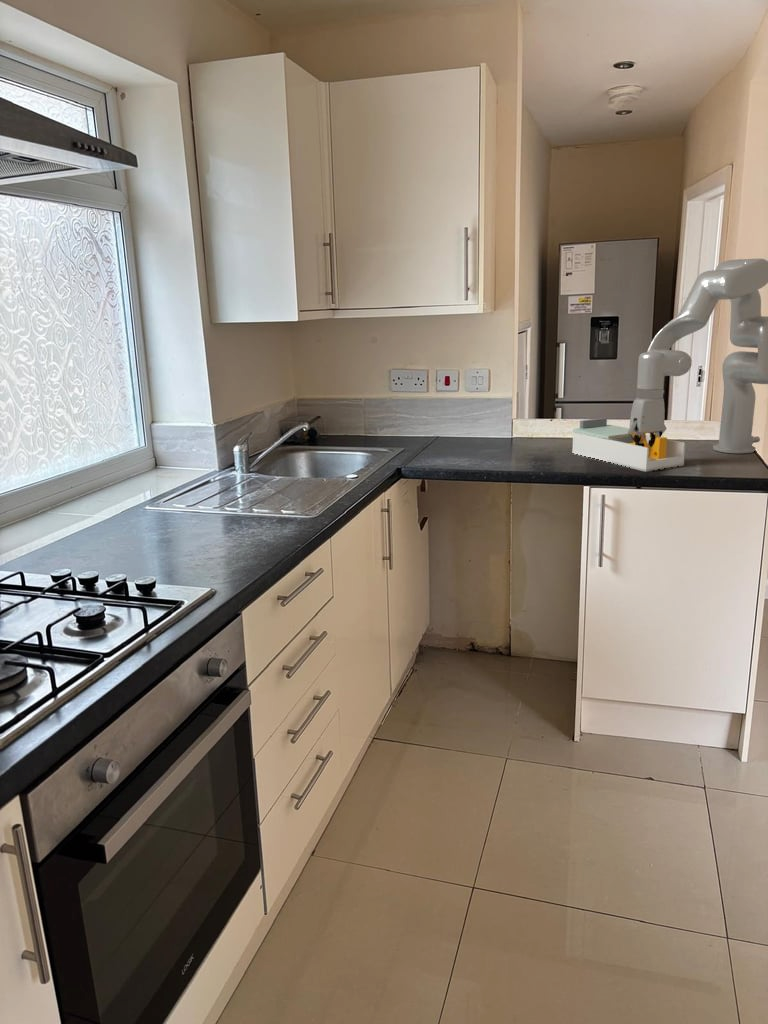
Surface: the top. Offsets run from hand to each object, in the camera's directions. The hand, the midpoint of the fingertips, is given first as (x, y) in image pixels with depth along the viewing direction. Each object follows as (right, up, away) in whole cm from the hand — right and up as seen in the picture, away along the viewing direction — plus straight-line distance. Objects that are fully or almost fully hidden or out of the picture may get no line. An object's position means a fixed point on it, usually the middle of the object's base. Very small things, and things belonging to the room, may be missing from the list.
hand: (645, 454), depth 237 cm
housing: (-4, -1, +8) cm, 9 cm away
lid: (-8, +8, +13) cm, 17 cm away
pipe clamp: (0, -1, 0) cm, 1 cm away
